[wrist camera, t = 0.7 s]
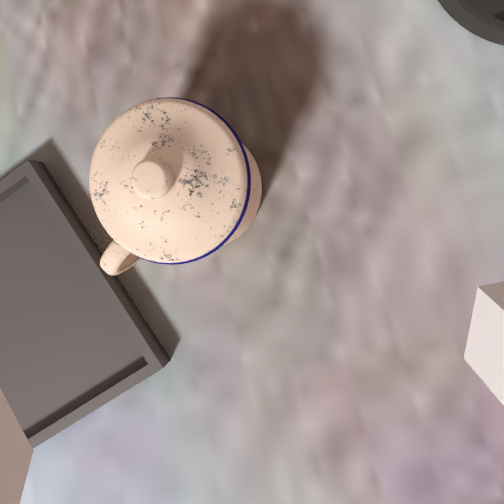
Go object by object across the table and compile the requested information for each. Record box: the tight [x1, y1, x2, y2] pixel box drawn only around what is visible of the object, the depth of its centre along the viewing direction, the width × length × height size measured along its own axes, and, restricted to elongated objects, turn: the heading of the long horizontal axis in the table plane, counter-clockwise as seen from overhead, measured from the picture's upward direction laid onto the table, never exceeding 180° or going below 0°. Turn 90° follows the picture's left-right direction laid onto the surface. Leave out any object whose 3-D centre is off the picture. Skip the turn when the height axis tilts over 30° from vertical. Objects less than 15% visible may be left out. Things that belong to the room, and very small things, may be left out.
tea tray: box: [0, 160, 170, 449], centre depth 35 cm, size 20×18×2 cm
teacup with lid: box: [89, 98, 262, 275], centre depth 28 cm, size 12×9×12 cm
